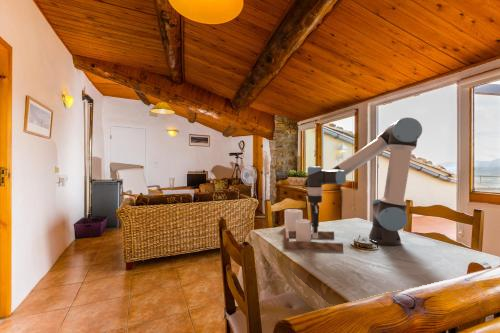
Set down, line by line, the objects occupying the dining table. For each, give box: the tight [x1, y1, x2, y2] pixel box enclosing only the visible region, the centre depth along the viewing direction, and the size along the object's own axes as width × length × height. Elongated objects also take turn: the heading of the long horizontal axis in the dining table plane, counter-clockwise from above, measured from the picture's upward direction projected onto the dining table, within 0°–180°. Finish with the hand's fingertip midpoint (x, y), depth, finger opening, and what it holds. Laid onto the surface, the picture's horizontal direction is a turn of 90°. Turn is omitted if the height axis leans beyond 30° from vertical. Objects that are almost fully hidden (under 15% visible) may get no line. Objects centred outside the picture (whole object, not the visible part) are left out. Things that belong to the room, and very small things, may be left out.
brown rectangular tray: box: [284, 227, 344, 252], centre depth 129 cm, size 28×21×5 cm
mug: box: [295, 218, 312, 242], centre depth 130 cm, size 12×8×12 cm
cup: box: [284, 208, 304, 230], centre depth 157 cm, size 12×12×12 cm
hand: (315, 237), depth 129 cm, fingers closed
